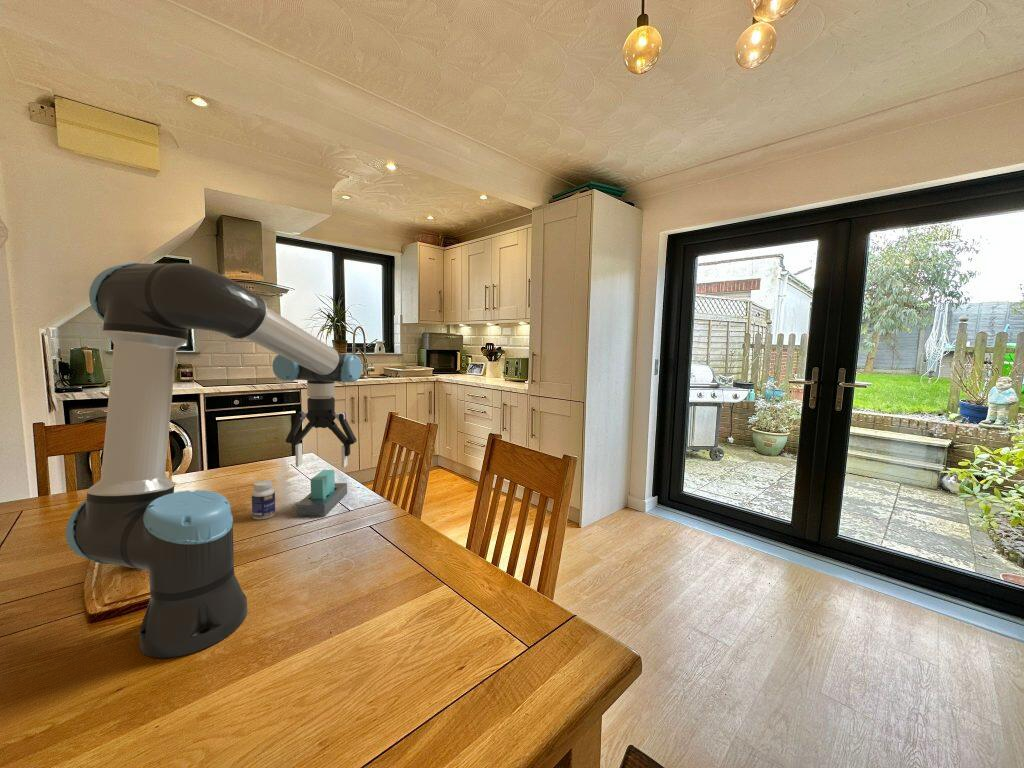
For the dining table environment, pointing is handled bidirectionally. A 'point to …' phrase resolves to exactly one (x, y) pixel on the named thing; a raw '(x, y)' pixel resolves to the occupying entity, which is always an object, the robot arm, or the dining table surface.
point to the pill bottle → (263, 500)
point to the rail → (321, 503)
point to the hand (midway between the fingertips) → (321, 465)
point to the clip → (322, 484)
